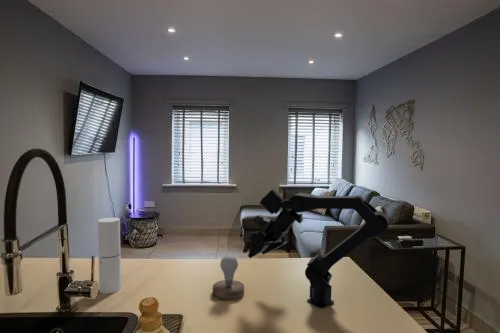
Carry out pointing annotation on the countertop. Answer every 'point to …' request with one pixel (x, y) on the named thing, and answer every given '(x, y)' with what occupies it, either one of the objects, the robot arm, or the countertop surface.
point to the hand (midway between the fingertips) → (255, 255)
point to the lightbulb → (229, 268)
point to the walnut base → (228, 290)
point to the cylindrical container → (109, 255)
